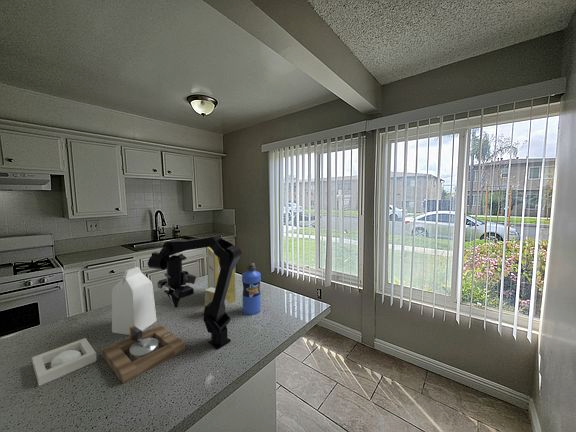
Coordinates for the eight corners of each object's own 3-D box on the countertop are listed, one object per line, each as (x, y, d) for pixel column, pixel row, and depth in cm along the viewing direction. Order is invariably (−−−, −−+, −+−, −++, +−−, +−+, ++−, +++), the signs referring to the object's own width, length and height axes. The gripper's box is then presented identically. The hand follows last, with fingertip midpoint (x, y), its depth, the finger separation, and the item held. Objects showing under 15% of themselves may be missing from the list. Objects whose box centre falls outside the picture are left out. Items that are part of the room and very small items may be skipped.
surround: (185, 350, 88) (184, 342, 88) (122, 384, 72) (122, 374, 72) (160, 331, 100) (160, 324, 100) (102, 356, 85) (102, 348, 84)
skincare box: (204, 313, 116) (203, 289, 115) (211, 310, 119) (210, 286, 118) (214, 317, 113) (213, 292, 112) (220, 313, 116) (220, 289, 115)
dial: (163, 350, 88) (162, 331, 87) (137, 365, 80) (136, 344, 80) (144, 338, 95) (143, 321, 94) (119, 350, 87) (118, 332, 87)
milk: (135, 335, 97) (131, 274, 95) (111, 332, 100) (108, 272, 97) (156, 320, 109) (154, 265, 107) (135, 318, 111) (132, 264, 109)
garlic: (87, 357, 85) (87, 347, 84) (70, 370, 78) (69, 360, 78) (65, 356, 85) (64, 346, 84) (46, 370, 78) (45, 359, 78)
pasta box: (208, 293, 139) (207, 247, 137) (225, 290, 145) (224, 245, 142) (216, 305, 124) (214, 253, 122) (235, 301, 129) (234, 251, 127)
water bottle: (263, 313, 117) (262, 263, 114) (244, 316, 113) (243, 265, 111) (258, 305, 125) (258, 259, 123) (240, 308, 122) (240, 260, 120)
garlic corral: (96, 360, 82) (96, 352, 82) (38, 386, 71) (37, 377, 71) (85, 345, 91) (85, 337, 91) (32, 365, 80) (32, 357, 80)
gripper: (205, 270, 96) (206, 306, 97) (181, 262, 107) (182, 295, 109) (178, 277, 87) (180, 317, 89) (156, 267, 99) (157, 303, 100)
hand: (175, 307), depth 97 cm, fingers closed
